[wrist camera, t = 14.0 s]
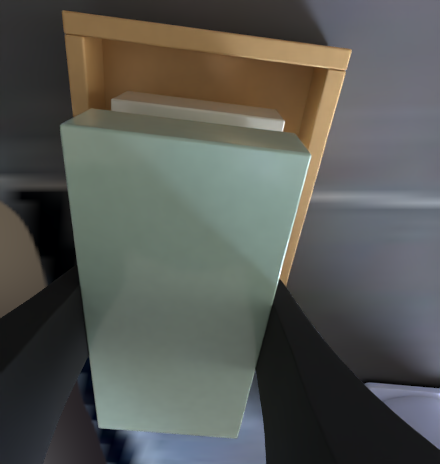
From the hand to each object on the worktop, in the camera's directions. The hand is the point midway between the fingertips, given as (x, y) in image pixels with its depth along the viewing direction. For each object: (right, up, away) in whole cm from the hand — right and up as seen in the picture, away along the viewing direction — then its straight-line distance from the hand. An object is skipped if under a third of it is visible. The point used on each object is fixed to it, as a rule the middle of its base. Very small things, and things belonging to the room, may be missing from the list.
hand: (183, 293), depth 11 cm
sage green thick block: (0, +1, +1) cm, 2 cm away
